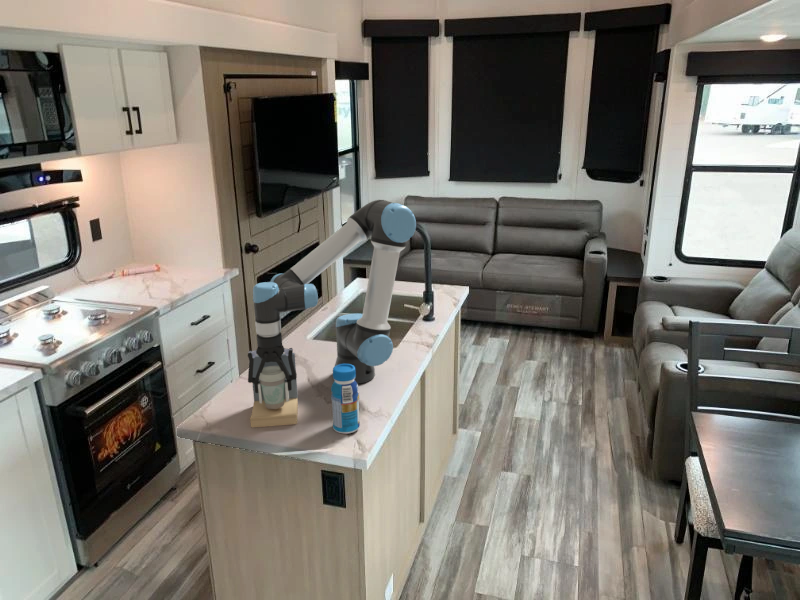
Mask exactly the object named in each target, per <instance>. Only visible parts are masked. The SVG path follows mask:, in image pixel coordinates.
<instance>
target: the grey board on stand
mask: <svg viewBox="0 0 800 600" xmlns="http://www.w3.org/2000/svg"><path fill="white" fill-rule="evenodd" d="M292 357H293V361H294V365H295V369H296V370H297V365H296V352H293V353H292ZM281 358H282V361H283V362H284V364H285V366H286V368H287V370H288V372H289V374H290V375H292V373H291V369H290V365H289V361H288V356H286V353H285V352H284V353H283V354H282V356H281ZM260 363H261V358H260V357H259V356H258V355H257V354H256V356H255V358H254V365H253V377H254V378H255V377H256V374H257V371H258V368H259V365H260ZM268 366H279V365H278V364H277V362H265V365H264V367H263V368H265V367H268ZM285 379H286V378H285ZM297 380H298V379H297V378H296V379H295V380H292V381H291V383H292V389H291V390H290V391H289V401H286V391H285V395H284V405H283V406H282V407H281V408H278V409H268V408H266V406H265V402H264V397H263V392H262V397H263V401H262V403H260V402H259V393H255V386H254V383H252V393H253V406H252V410H251V416H249V420H250V428H252V429H253V428H264V427H277V426H290V425H298V414H299V413H298V411H299V410H298V409H299V407H298V406H299V399H298V398H299V397H298V383H297V382H298V381H297ZM259 381H260V380H259Z"/></svg>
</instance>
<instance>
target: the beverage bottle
mask: <svg viewBox="0 0 800 600" xmlns="http://www.w3.org/2000/svg"><path fill="white" fill-rule="evenodd" d="M334 366H335V365H334ZM334 366H333V368H332V378H333V380H334V381H333V382H332V385H331V387H330V390H331V395H330V399H331V406H332V407H331V410H332V428H333V430H334V431H335V432H336V433H339V434H342V435H343V434H345V435H346V434H351V433H355V432H356V431H358V430H359V429H360V427H361V424H360V408H359V407H360V405H359V404H360V403H359V402H360V401H359V400H360V393H359V389H360V388H359V384H357V382H356V381H355V380H354V379H355V377H356V370H355V367H354V366H353V365H351V364H339V365H336V366H335V367H334Z"/></svg>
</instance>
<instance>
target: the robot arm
mask: <svg viewBox="0 0 800 600" xmlns="http://www.w3.org/2000/svg"><path fill="white" fill-rule="evenodd" d="M416 228H417V221H416V217H415V214H414V212H413V211H412V210H411V209H410V208H409V207H408V206H406V205H403V204H401V203H398V202H392V201H388V200H385V199H375V200H372V201H370V202H367V204H365V205H362V207H361V208H359V209H358V210H356V211H355V212H353V213H352V214H351V215H350V216H349V217H347V220H346V223H345V224H344V225H342V226H341V227H340V228H339V229H337V230H336V231H335V232H334V233H333V234H331V235H330V236H329V237H328V238H326V239H325V240H324V241H323V242H321V243H320V244H319V245H318V246H316V248H314V249H313V250H311V251H310V252H309V253H308V254H307V255H305V256H304V257H302V258H301V259H300V260H299V261H298V262H297V263H296V264H295V265H293V266H292V267H290V268H289V269H288V270H287V271H285V272H284V273H278V274H277V273H276V274H275V275H273V277H272V278H271V279H270V281H267V282H266V281H265V282H259V283H255V285H253V287H252V302H253V308H254V309H253V310H254V311H253V312H254V324H255V333H256V345H257V348H256V349H255V350H250V349H249V351H248V353H247V357H248V361H249V362H248V377H247V382H248V383H249V384H251V383H252V384H253V383H254V386H255V393H259V402H260V403H262V401H263V397H262V388H261V383H260V381H259V376H260V373H262V370H263V367H264V365H265V362H277V364H278V365H279V367H280V369H281V371H283V372H284V374H285V378H286V379H285V391H286V401H289V391H290V390H291V389H292V383H291V381H292V380H295V379H296V380H297V378H298V376H297V375H298V374H297V368H296V369H295V365H296V364H295V365H294V361H293V357H292V353H294V352H293V350H294V349H293V347H290V348H285V347H284V345H283V335H282V333H283V332H282V323H281V322H282V321H281V314H282V313H287V312H295V311H301V310H307V309H312V308H315V307H317V305H318V303H319V296H318V294H319V293H318V290H317V288H316V286H315V285H314V283H310V282H312V281H313V280H314V279H316V277H319V275H321V274H322V273H323V272H324V271H325V270H326V269H328V268H329V267H330V266H331V265H333V264H334V263H335V262H337V261H338V260H339V259H340V258H341V257H343V256H344V255H345V254H346V253H347V252H349V251H350V250H351V249H352V248H354V247H355V246H356V245H357V244H359V242H361V241H363V242H365V241H367V240H369V238H370V242H371V244H372V246H373V252H372V258H371V264H370V269H369V275H368V279H367V280H368V282H367V287H366V293H365V297H364V304H363V309H362V313H360V312H359V313H358V312H357V313H346V314H344V315H340V316H338V317H337V318H336V319H335V337H336V339H335V340H336V352H337V354H336V360H335V363H334V366H333V368H334V367H335V366H336V365H339V364H351V365H353V366H354V367H355V370H356V377H355V379H354V380H355V381H356V382H357V384H358V385H359V384H364V383H367V382H369V381H371V380H373V379H374V378H375V375H376V371H375V367H376V366H377V367H378V366H381V365H382V364H384V363H385V362H387V361H388V360H389V359H390V357H391V355H392V353H393V350H394V344H393V341H392V339H391V338H390V332H391V329H392V328H391V325H390V324H389V322H388V318H389V313H390V308H391V303H392V296H393V292H394V286H395V280H396V275H397V272H398V271H397V270H398V266H399V265H398V264H399V260H400V254H401V252H402V251H404V249H406V247H407V242H408V241H410V238H413V236H414V235H415V232H416ZM283 353H286V356H288V361H289V365H290V369H291V373H292V375H290V374H289V372H288V370H287V368H286V366H285V364H284V362H283V361H282V358H281V356H282V354H283ZM256 355H258V356H259V357H260V358H261V363H260V365H259V368H258V371H257V374H256V377H255V378H254V377H253V365H254V358H255V356H256Z"/></svg>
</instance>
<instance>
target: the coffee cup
mask: <svg viewBox="0 0 800 600" xmlns="http://www.w3.org/2000/svg"><path fill="white" fill-rule="evenodd" d="M259 380H260V383H261V388H262V392H263V397H264V402H265V406H266V408H268V409H278V408H281V407H282V406H283V405H284V395H285V374H284V372H283V371H281V369H280V367H279V366H268V367H265V368H263V370H262V373H260V376H259Z"/></svg>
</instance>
